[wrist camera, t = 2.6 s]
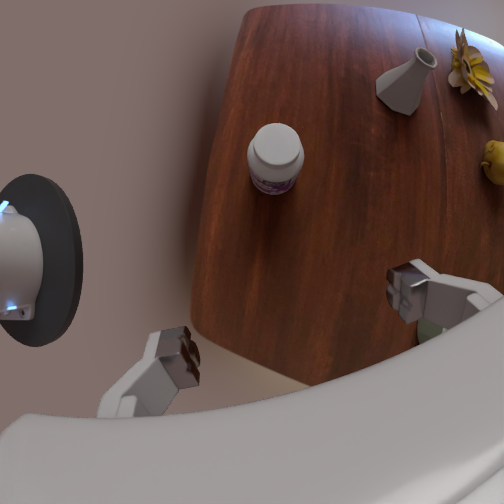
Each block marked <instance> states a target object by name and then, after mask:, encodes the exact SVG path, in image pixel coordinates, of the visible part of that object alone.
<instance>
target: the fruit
mask: <svg viewBox="0 0 504 504" xmlns="http://www.w3.org/2000/svg"><path fill="white" fill-rule="evenodd" d="M482 166H483V168H484V172H485V174H486V176H487V177H488V178H489V180H491V181H492V182H493V183H494V184H497V185H504V142H498V141H490V142H488V143H487V144H486V146H485V147H484V150H483V162H482V163H481V164H480V168H482Z"/></svg>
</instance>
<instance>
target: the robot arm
mask: <svg viewBox="0 0 504 504" xmlns="http://www.w3.org/2000/svg"><path fill="white" fill-rule="evenodd" d="M7 204H8V201H4V202H3V203H2V204H1V205H0V320H32V319H33V318H34V315H35V301H36V298H37V295H38V293H39V290H40V287H41V282H42V276H43V252H42V246H41V241H40V238H39V235H38V232H37V230H36V228H35V226H34V224H33V223H32V222H31V220H30V219H28V218H27V217H25V216H23V215H20V214H19V213H18V212H17V211H16V209H15V208H14V207H13V206H12V205H8V206H7ZM3 209H4V210H3ZM2 210H3V211H2ZM386 279H387V280H388V281H389V284H388V286H387V288H386V296H387V300H388V302H389V304H390V306H391V307H392V308H393V309H394V310H398V311H399V316H400V318H401V319H402V320H403V321H404V322H405V323H406V324H409V323H412V322H414V321H417V320H419V319H421V318H423V319H425V320H427V321H430V322H432V323H434V324H436V325H439V326H441V327H443V328H445V329H448V330H447V331H445V332H443V333H442V334H440V335H438V336H436V337H434V338H432V339H430V340H428V341H426V342H424V343H422V344H420V345H418V346H416V347H414V348H412V349H410V350H407V351H405V352H403V353H401V354H398V355H396V356H394V357H392V358H389V359H387V360H384V361H382V362H380V363H377V364H375V365H372V366H370V367H367V368H364V369H362V370H359V371H356V372H354V373H351V374H348V375H345V376H343V377H340V378H337V379H334V380H331V381H328V382H325V383H322V384H318V385H315V386H312V387H309V388H306V389H302V390H299V391H295V392H291V393H287V394H283V395H280V396H276V397H272V398H267V399H263V400H259V401H254V402H249V403H244V404H239V405H234V406H229V407H223V408H217V409H211V410H205V411H197V412H190V413H182V414H172V415H163V414H164V413H165V411H166V410H167V408H168V406H169V405H170V404H171V402H172V400H173V399H174V397H175V396H176V394H177V393H178V391H179V389H184V388H190V387H195V386H199V378H200V373H199V371H198V369H197V368H198V367H199V365H200V355H199V351H198V348H197V346H196V343H195V342H194V341H192V340H190V339H191V333H190V331H189V329H188V328H187V327H186V326H183V327H178V328H173V329H167V330H162V331H157V332H152V333H150V334H149V337H148V340H147V344H146V347H145V351H144V355H143V358H142V360H139V361H138V362H137V363H136V364H135V365H134V366H133V367H132V368H131V369H130V370H129V371H128V372H126V373H125V374H124V375H123V376H122V377H121V378H120V379H119V380H118V381H117V382H116V383H115V384H114V385H113V386H112V387H111V388H110V389H109V390H108V391H107V392H106V393H105V394H104V395H103V396H102V397H101V400H100V404H99V407H98V410H97V413H96V417H95V418H88V417H85V418H84V417H68V416H67V417H66V416H54V415H44V414H37V413H26V414H24V415H22V416H21V417H19V418H18V419H17V420H15V421H14V422H13V423H12V424H11V425H10V426H8V427H7V428H6V429H5V430H4V431H3V432H2V433H1V434H0V504H504V296H503V295H502V294H501V293H500V292H498V291H497V290H496V289H494V288H493V287H492V286H491V285H489V284H487V283H483V282H478V281H474V280H469V279H465V278H460V277H455V276H451V275H446V274H441V275H440V274H438V273H437V272H436V271H434V270H433V269H432V268H431V267H429V266H428V265H427V264H425V263H424V262H423V261H421V260H420V259H415V260H412V261H410V262H407V263H405V264H403V265H400V266H397V267H394V268H392V269H389V270H388V271H387V276H386Z"/></svg>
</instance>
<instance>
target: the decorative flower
mask: <svg viewBox="0 0 504 504" xmlns="http://www.w3.org/2000/svg"><path fill="white" fill-rule="evenodd" d="M456 45H457V48H455V47H453V49H451V50H452V51H453V52H451V53H452V54H453V55H454V56H453V57H454V58H453V60H452V64H451V66H452V70H453V71H452V72H451V73H450V74H449V78H448V80H449V83H450V84H451V85H452V86H453V87H458V86H462V87H461V94H463V93H465V92H466V91H468V90H469V89H470V88H471V87H473V88H474V89H475V91H477V92H478V93H479V94H480V95H481V96H482V97H483V98H484V99H485V100H486V101H487V102H488V103H489V104H490V105H491V106H492V107H493V108H495V109H496V110H497V107H498V105H497V102H496V100H495V98H494V97H493V95H492V94H491V93H490V92H489V91H491V92H492V88H491V87H490V85H489V84H488V83H491V84H494V79H493V77H492V75H491V73H490V72H489V67H488V65H487V63H486V62H485V61H484V60H483V57H482V55H481V53H480V51H479V50H478V49H477V48H475V47H473V46H468V43H467V40H466V37H465V34H464V28H463V29H462V32H461V35H460V37H459V34H458V31H457V29H456ZM479 82H480V83H481V84H482V85H481V84H480V83H479ZM485 87H486V88H487V89H488V90H489V91H488V90H487V89H486V88H485Z"/></svg>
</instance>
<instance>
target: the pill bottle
mask: <svg viewBox="0 0 504 504" xmlns="http://www.w3.org/2000/svg"><path fill="white" fill-rule="evenodd" d="M247 159H248V165H249V170H250V175H251V179H252V181H253V183H254V185H255V186H256V187H257V188H258V189H259V190H260V191H262V192H264V193H267V194H271V195H277V194H281V193H284V192H286V191H287V190H289V189H290V188H291V187H292V186H293V184H294V182H295V180H296V178H297V176H298V174H299V172H300V169H301V168H302V165H303V161H304V151H303V148H302V145H301V143H300V139H299V137H298V135H297V133H296V132H295V131H294V130H293V129H292V128H290V127H289V126H287V125H284V124H279V123H273V124H268V125H266V126H264V127H262V128H261V129H260V130H259V131H258V132H257V134H256V136H255V137H254V138H253V140H252V141H251V143H250V145H249V147H248V152H247Z"/></svg>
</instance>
